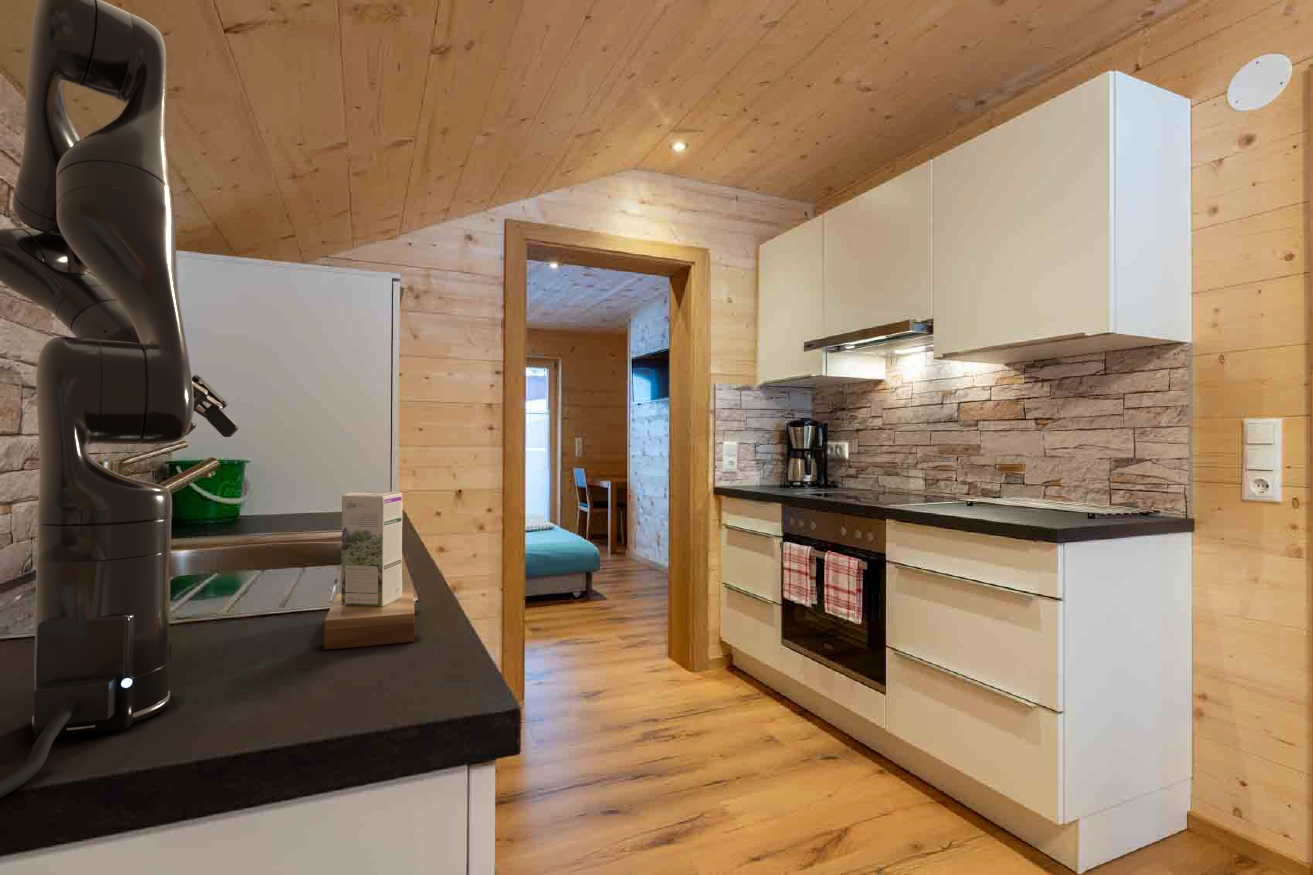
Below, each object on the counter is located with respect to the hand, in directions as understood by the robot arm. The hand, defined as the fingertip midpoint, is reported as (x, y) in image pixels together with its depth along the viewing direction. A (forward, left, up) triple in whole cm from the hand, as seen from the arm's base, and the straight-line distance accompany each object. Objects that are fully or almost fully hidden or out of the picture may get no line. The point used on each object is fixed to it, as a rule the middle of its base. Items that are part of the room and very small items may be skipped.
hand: (212, 432), depth 87 cm
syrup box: (-6, -20, -23) cm, 31 cm away
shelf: (-6, -20, -26) cm, 33 cm away
